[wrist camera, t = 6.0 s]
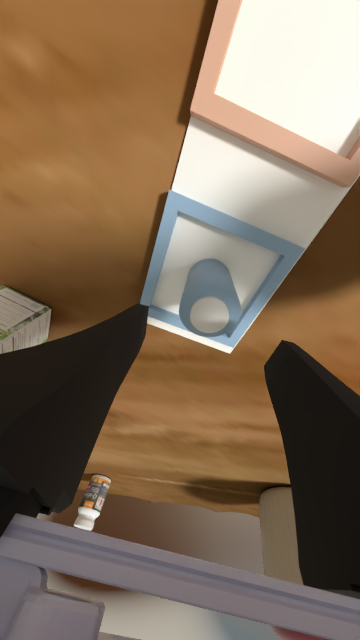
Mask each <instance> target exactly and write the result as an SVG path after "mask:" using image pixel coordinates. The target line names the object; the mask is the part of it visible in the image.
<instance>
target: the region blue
mask: <svg viewBox="0 0 360 640" xmlns="http://www.w3.org/2000/svg"><path fill="white" fill-rule="evenodd" d="M179 211H180V212H182V213H185V214H187V215H189V216H192V217H194V218H196V219H199V220H201V221H203V222H206V223H208V224H210V225H213V226H215V227H218V228H220V229H222V230H225V231H227V232H229V233H232V234H234V235H236V236H239V237H241V238H243V239H246V240H248V241H250V242H253V243H255V244H257V245H260V246H262V247H264V248H267V249H269V250H271V251H274V252H276V253H278V254H281V256H280V257H279V259H278V260H277V262H276V263H275V265H274V266H273V268H272V269H271V271H270V272H269V274H268V275H267V277H266V278H265V280H264V281H263V283H262V284H261V286H260V287H259V289H258V290H257V292H256V293H255V295H254V296H253V298H252V299H251V301H250V302H249V304H248V305H247V307H246V308H245V310H244V311H243V313H242V314H241V316H240V318H239V321H238V323H237V324H236V325H235V327H234V328H233V329H231V331H230V332H229V334H228V333H225V334H223V335H220V336H216V337H205V338H208V339H210V340H213V341H216V342H219V343H221V344H224V345H227V346H229V347H232V348H234V346H235V345H236V344H237V342H238V341H239V339H240V338H241V337H242V335H243V334H244V332H245V331H246V330H247V328H248V327H249V326H250V324H251V323H252V321H253V320H254V319H255V317H256V316H257V315H258V313H259V312H260V310H261V309H262V308H263V306H264V305H265V304H266V302H267V301H268V299H269V298H270V297H271V295H272V294H273V293H274V291H275V290H276V288H277V287H278V286H279V284H280V283H281V282H282V280H283V279H284V277H285V276H286V275H287V273H288V272H289V270H290V269H291V268H292V266H293V265H294V264H295V262H296V261H297V259H298V258H299V257H300V255H301V254H302V253H303V251H304V250H305V248H303V247H300V246H298V245H296V244H294V243H291V242H289V241H287V240H284V239H282V238H280V237H277V236H275V235H273V234H271V233H268V232H266V231H264V230H261V229H259V228H257V227H255V226H252V225H250V224H248V223H245V222H243V221H241V220H238V219H236V218H234V217H232V216H229V215H227V214H225V213H222V212H220V211H218V210H215V209H213V208H211V207H209V206H206V205H204V204H202V203H199V202H197V201H195V200H193V199H190V198H188V197H186V196H183V195H181V194H179V193H176V192H174V191H172V190H170V189H169V193H168V197H167V201H166V204H165V208H164V212H163V216H162V220H161V224H160V227H159V231H158V235H157V239H156V243H155V247H154V251H153V254H152V258H151V262H150V266H149V270H148V274H147V278H146V281H145V285H144V289H143V293H142V297H141V301H140V304H142V305H146V306H149V311H148V316H149V317H151V318H154V319H157V320H159V321H162V322H165V323H167V324H170V325H173V326H175V327H178V328H181V329H184V330H186V331H189V330H188V329H187V328H186V327H185V326H184V325H183V323H182V322H181V319H180V316H179V315H178V314H175V313H172V312H170V311H167V310H164V309H162V308H159V307H156V306H154V305H151V303H152V299H153V296H154V293H155V289H156V286H157V283H158V279H159V276H160V273H161V269H162V266H163V263H164V259H165V256H166V253H167V250H168V246H169V243H170V240H171V236H172V233H173V230H174V226H175V223H176V220H177V216H178V213H179ZM189 332H190V331H189ZM202 337H203V336H202Z"/></svg>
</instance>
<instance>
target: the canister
mask: <svg viewBox="0 0 360 640" xmlns="http://www.w3.org/2000/svg"><path fill="white" fill-rule="evenodd" d="M259 516H260V529H261V542H262V554H263V564H264V576H268V577H272V578H276V579H280V580H284V581H288V582H292V583H296V584H300V585H303V581H302V577H301V573H300V569H299V562H298V547H297V536H296V525H295V514H294V506H293V499H292V491H291V487H275V488H270V489H267V490H265V491H264V492H263V493H262V494H261V496H260V500H259ZM271 626H272V625H271ZM272 628H273V630H274V632H275V633H276V635H277V636H278V637H279V638H281V639H282V640H328V639H324V638H320V637H316V636H312V635H308V634H304V633H300V632H296V631H292V630H288V629H284V628H280V627H276V626H272Z"/></svg>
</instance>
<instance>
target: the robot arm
mask: <svg viewBox="0 0 360 640" xmlns="http://www.w3.org/2000/svg"><path fill="white" fill-rule="evenodd" d="M148 311H149V306H146V305H142V304H136V305H134V306H132V307H130V308H129V309H127V310H125V311H123V312H121V313H119V314H117V315H116V316H114V317H112V318H110V319H108V320H105V321H103V322H101V323H99V324H97V325H95V326H92V327H90V328H88V329H85V330H83V331H80V332H77V333H75V334H72V335H69V336H66V337H63V338H60V339H56V340H53V341H50V342H46V343H43V344H39V345H36V346H32V347H28V348H24V349H20V350H16V351H11V352H6V353H2V354H0V640H140V639H135V638H129V637H124V636H119V635H113V634H108V633H103V632H99V630H100V626H101V622H102V618H103V614H104V610H105V605H104V603H103V602H101V601H97V600H94V599H91V598H88V597H85V596H81V595H78V594H75V593H71V592H66V591H61V590H52V589H48V588H47V573H46V570H45V569H49V570H53V571H57V572H61V573H65V574H69V575H73V576H77V577H81V578H85V579H89V580H93V581H97V582H101V583H105V584H109V585H113V586H117V587H121V588H125V589H129V590H133V591H137V592H140V593H144V594H148V595H153V596H157V597H160V598H164V599H168V600H173V601H177V602H181V603H185V604H189V605H193V606H197V607H200V608H204V609H208V610H212V611H216V612H221V613H225V614H229V615H232V616H236V617H240V618H245V619H248V620H253V621H256V622H260V623H265V624H269V625H272V626H276V627H280V628H284V629H288V630H292V631H296V632H300V633H304V634H308V635H312V636H316V637H320V638H324V639H328V640H360V396H359V395H358V394H356V393H355V392H354V391H353V390H351V389H350V388H349V387H348V386H346V385H345V384H344V383H343V382H341V381H340V380H339V379H338V378H336V377H335V376H334V375H333V374H332V373H330V372H329V371H328V370H327V369H326V368H324V367H323V366H322V365H321V364H320V363H319V362H317V361H316V360H315V359H314V358H313V357H311V356H310V355H309V354H308V353H306V352H305V351H304V350H303V349H301V348H300V347H299V346H297V345H296V344H294V343H292V342H288V341H284V340H282V341H281V342H280V344H279V345H278V347H277V348H276V350H275V351H274V352H273V354H272V355H271V357H270V358H269V360H268V361H267V362H266V364H265V365H264V371H265V378H266V384H267V388H268V391H269V394H270V398H271V401H272V404H273V408H274V411H275V414H276V417H277V421H278V424H279V427H280V431H281V435H282V439H283V444H284V449H285V454H286V459H287V465H288V471H289V477H290V483H291V491H292V499H293V506H294V514H295V525H296V536H297V547H298V562H299V569H300V573H301V577H302V581H303V585H300V584H296V583H292V582H288V581H284V580H280V579H276V578H272V577H268V576H264V575H260V574H256V573H252V572H248V571H244V570H240V569H236V568H233V567H228V566H225V565H221V564H216V563H212V562H209V561H205V560H200V559H197V558H193V557H189V556H184V555H180V554H176V553H173V552H169V551H165V550H161V549H157V548H153V547H148V546H145V545H141V544H137V543H133V542H129V541H125V540H121V539H117V538H113V537H109V536H105V535H101V534H96V533H93V532H89V531H85V530H81V529H77V528H73V527H69V526H65V525H61V524H57V523H53V522H49V521H45V520H41V519H37V518H36V517H37V515H38V513H42V514H46V515H50V513H51V512H56V513H60V512H62V511H63V510H64V509H66V508H67V507H68V506H70V505H71V504H72V502H73V499H74V496H75V493H76V491H77V488H78V486H79V483H80V481H81V478H82V475H83V473H84V470H85V468H86V465H87V462H88V460H89V458H90V455H91V453H92V450H93V448H94V445H95V443H96V440H97V438H98V435H99V433H100V430H101V428H102V426H103V423H104V421H105V418H106V416H107V414H108V411H109V409H110V407H111V404H112V402H113V400H114V398H115V395H116V393H117V391H118V389H119V387H120V385H121V383H122V382H123V380H124V378H125V376H126V374H127V373H128V371H129V369H130V367H131V365H132V364H133V362H134V360H135V358H136V356H137V355H138V353H139V351H140V348H141V346H142V343H143V341H144V338H145V334H146V326H147V319H148ZM44 568H45V569H44Z"/></svg>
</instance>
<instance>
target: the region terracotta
mask: <svg viewBox="0 0 360 640" xmlns="http://www.w3.org/2000/svg"><path fill="white" fill-rule="evenodd" d="M242 1H243V0H218V4H217V8H216V12H215V16H214V19H213V23H212V27H211V31H210V35H209V39H208V43H207V46H206V50H205V54H204V58H203V62H202V66H201V70H200V73H199V77H198V81H197V85H196V89H195V93H194V97H193V100H192V104H191V108H190V113H191V116H192V117H195V118H197V119H199V120H201V121H203V122H205V123H207V124H209V125H211V126H214V127H216V128H218V129H220V130H222V131H224V132H226V133H228V134H230V135H232V136H235V137H237V138H239V139H241V140H243V141H245V142H247V143H249V144H251V145H253V146H256V147H258V148H260V149H262V150H264V151H266V152H268V153H270V154H272V155H275V156H277V157H279V158H281V159H283V160H285V161H287V162H289V163H291V164H293V165H296V166H298V167H300V168H302V169H304V170H306V171H308V172H310V173H312V174H314V175H317V176H319V177H321V178H323V179H325V180H327V181H329V182H331V183H333V184H336V185H338V186H340V187H342V188H344V187H350V186H351V185H352V184H353V182H354V181H355V180H356V178H357V177H358V175H359V174H360V136H359V138H358V139H357V141H356V142H355V144H354V146H353V147H352V149H351V150H350V152H349V153H348V155H347V156H346V158H344V157H342V156H340V155H338V154H336V153H334V152H332V151H330V150H328V149H326V148H324V147H322V146H320V145H318V144H316V143H314V142H312V141H310V140H308V139H306V138H304V137H302V136H300V135H298V134H296V133H294V132H292V131H290V130H288V129H285V128H283V127H281V126H279V125H277V124H275V123H273V122H271V121H269V120H267V119H265V118H263V117H261V116H259V115H257V114H255V113H253V112H251V111H249V110H247V109H245V108H243V107H241V106H239V105H237V104H235V103H233V102H231V101H229V100H226V99H224V98H222V97H220V96H218V95H216V94H215V91H216V87H217V84H218V81H219V77H220V74H221V71H222V67H223V64H224V61H225V57H226V54H227V51H228V48H229V44H230V41H231V38H232V34H233V31H234V28H235V24H236V21H237V18H238V14H239V11H240V8H241V4H242Z"/></svg>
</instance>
